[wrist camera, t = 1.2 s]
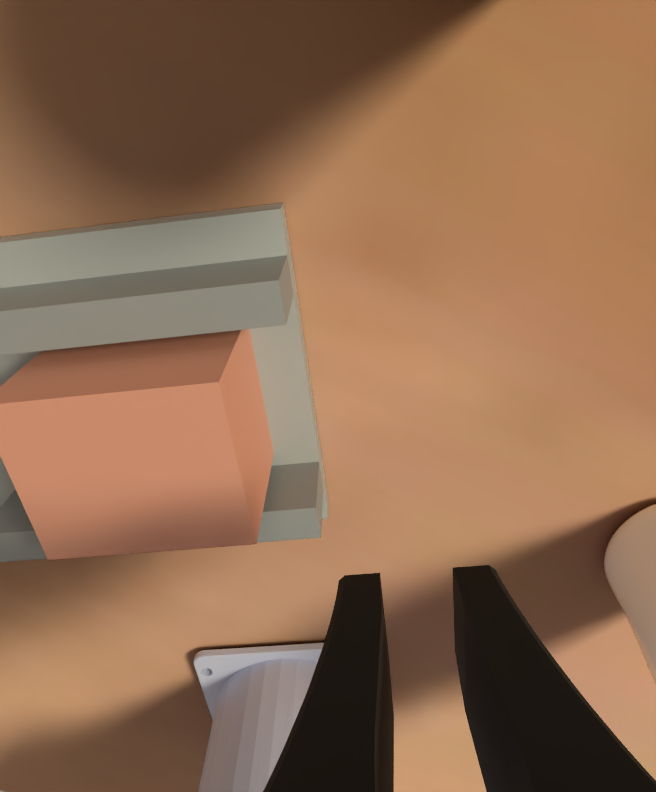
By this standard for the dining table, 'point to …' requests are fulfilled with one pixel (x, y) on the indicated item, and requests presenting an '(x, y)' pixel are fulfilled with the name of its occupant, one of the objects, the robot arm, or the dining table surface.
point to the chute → (171, 329)
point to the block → (139, 445)
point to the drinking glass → (636, 577)
